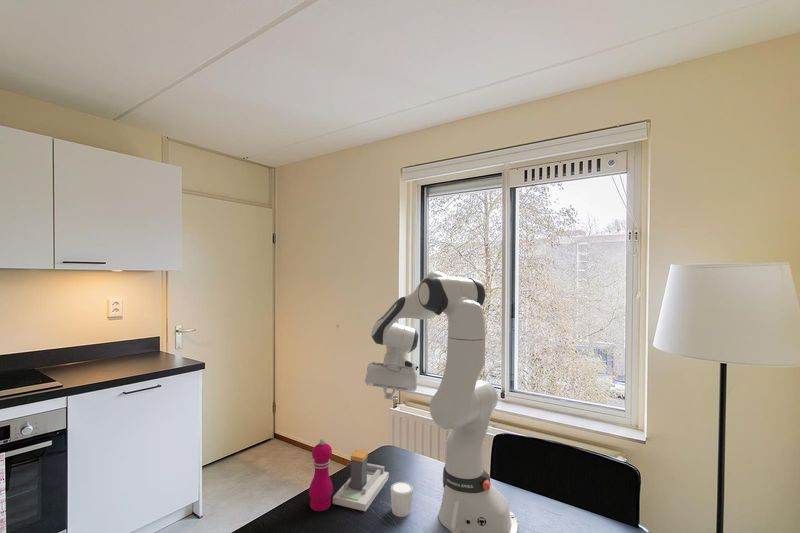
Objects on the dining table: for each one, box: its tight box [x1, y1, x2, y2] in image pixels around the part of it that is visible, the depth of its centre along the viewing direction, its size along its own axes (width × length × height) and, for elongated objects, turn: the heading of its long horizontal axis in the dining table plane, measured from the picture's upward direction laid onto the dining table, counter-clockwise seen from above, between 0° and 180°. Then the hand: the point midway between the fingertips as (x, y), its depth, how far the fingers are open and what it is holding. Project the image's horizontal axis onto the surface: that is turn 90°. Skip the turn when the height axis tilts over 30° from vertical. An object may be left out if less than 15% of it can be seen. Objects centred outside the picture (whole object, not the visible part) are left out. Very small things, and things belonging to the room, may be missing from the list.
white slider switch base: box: [332, 462, 390, 512], centre depth 125 cm, size 11×20×4 cm, turn 161°
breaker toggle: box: [349, 450, 369, 490], centre depth 124 cm, size 4×4×10 cm
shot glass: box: [390, 481, 414, 518], centre depth 115 cm, size 7×7×7 cm
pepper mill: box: [308, 438, 334, 512], centre depth 117 cm, size 7×7×20 cm
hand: (388, 398), depth 144 cm, fingers closed
